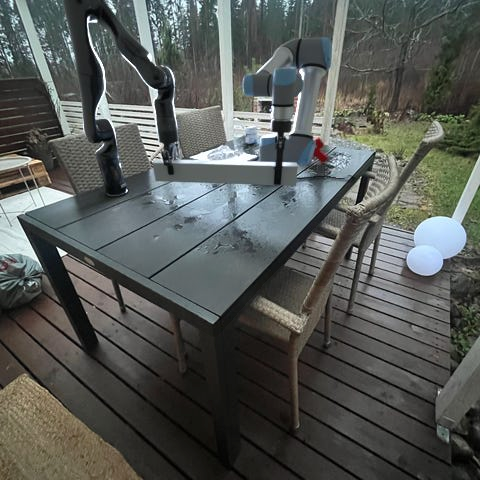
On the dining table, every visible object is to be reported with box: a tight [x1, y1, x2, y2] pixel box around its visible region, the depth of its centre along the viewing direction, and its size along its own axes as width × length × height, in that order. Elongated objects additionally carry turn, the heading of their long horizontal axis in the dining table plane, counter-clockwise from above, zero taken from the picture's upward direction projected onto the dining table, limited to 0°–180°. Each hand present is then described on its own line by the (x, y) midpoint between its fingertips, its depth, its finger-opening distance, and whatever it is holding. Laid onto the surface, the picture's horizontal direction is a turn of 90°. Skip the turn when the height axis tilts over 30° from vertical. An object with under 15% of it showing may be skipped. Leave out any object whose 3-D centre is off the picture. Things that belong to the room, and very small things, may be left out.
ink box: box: [245, 125, 258, 145], centre depth 213 cm, size 8×5×12 cm, turn 135°
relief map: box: [189, 144, 258, 161], centre depth 177 cm, size 27×35×5 cm
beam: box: [151, 158, 299, 187], centre depth 109 cm, size 57×5×8 cm, turn 84°
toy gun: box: [311, 136, 329, 165], centre depth 169 cm, size 18×4×15 cm
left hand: (173, 172), depth 112 cm, fingers closed on beam, 5 cm apart
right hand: (277, 181), depth 109 cm, fingers closed on beam, 5 cm apart
